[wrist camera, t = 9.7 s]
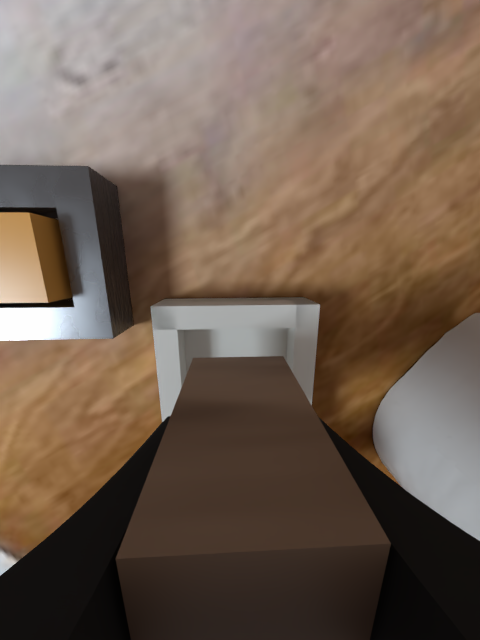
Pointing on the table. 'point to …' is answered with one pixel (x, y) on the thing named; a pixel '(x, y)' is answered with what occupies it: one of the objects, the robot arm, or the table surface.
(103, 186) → the button housing
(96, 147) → the table surface
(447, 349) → the toilet tissue
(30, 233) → the button
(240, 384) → the block
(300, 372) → the light grey rectangular frame
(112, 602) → the robot arm
